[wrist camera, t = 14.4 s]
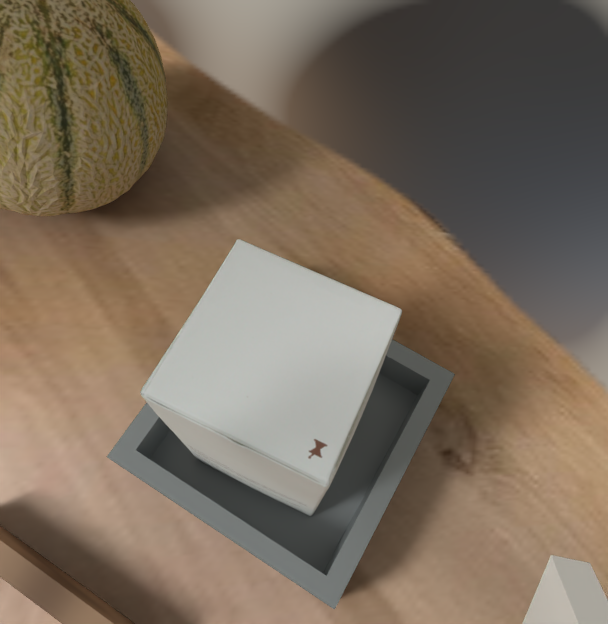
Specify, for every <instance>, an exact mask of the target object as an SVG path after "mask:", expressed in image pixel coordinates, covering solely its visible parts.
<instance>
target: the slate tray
mask: <svg viewBox="0 0 608 624" xmlns="http://www.w3.org/2000/svg"><path fill="white" fill-rule="evenodd" d="M454 375H455V374H454V373H452V372H450V371H448V370H446V369H445V368H443V367H441V366H439V365H437V364H436V363H434V362H432V361H430V360H429V359H427V358H425V357H423V356H421V355H420V354H418V353H416V352H414V351H412V350H411V349H409V348H407V347H405V346H403V345H402V344H400V343H398V342H396V341H394V340H393V339H392V341H391V343H390V346H389V349H388V351H387V354H386V356H385V359H384V362H383V364H382V367H381V369H380V372H379V375H378V377H377V380H376V382H375V385H374V388H373V390H372V392H371V395H370V397H369V400H368V402H367V404H366V407H365V409H364V412H363V414H362V416H361V419H360V421H359V423H358V426H357V428H356V430H355V433H354V435H353V437H352V439H351V442H350V444H349V446H348V448H347V450H346V452H345V455H344V457H343V459H342V461H341V463H340V465H339V468H338V470H337V472H336V474H335V476H334V478H333V480H332V483H331V485H330V487H329V488H328V490H327V491H326V493H325V495H324V497H323V498H322V500H321V502H320V503H319V505H318V507H317V508H316V510H315V512H314V514H313V515H312V516H308V515H306V514H304V513H302V512H300V511H298V510H296V509H294V508H292V507H290V506H288V505H285V504H283V503H281V502H279V501H277V500H275V499H273V498H271V497H269V496H267V495H265V494H263V493H261V492H259V491H257V490H255V489H253V488H251V487H249V486H247V485H245V484H243V483H241V482H239V481H237V480H235V479H234V478H232V477H230V476H228V475H226V474H224V473H222V472H220V471H218V470H216V469H214V468H212V467H211V466H209V465H207V464H205V463H203V462H201V461H200V460H198V459H196V457H195V456H194V455H193V454H192V453H191V451H190V450H189V449H188V448H187V447H186V446H185V445H184V443H183V442H182V441H181V440H180V439H179V438H178V437H177V436H176V435H175V434H174V432H173V431H172V430H171V429H170V428H169V427H168V426H167V425H166V424H165V423H164V422H163V420H162V419H161V418H160V417H159V416H158V415H157V414H156V413H155V412H154V410H153V409H152V408H151V407H150V406H149V404H148V403H146V404H145V406H144V407H143V408H142V410H141V411H140V412H139V414H138V415H137V416H136V418H135V419H134V420H133V422H132V423H131V425H130V426H129V427H128V429H127V430H126V431H125V433H124V434H123V435H122V437H121V438H120V439H119V441H118V442H117V444H116V445H115V446H114V448H113V449H112V450H111V452H110V453H109V454H108V456H107V457H108V458H109V459H111V460H112V461H114V462H115V463H117V464H118V465H120V466H121V467H123V468H124V469H126V470H127V471H129V472H130V473H132V474H133V475H135V476H136V477H138V478H139V479H141V480H142V481H143V482H145V483H146V484H148V485H149V486H151V487H152V488H154V489H155V490H157V491H158V492H160V493H161V494H163V495H164V496H166V497H167V498H169V499H170V500H172V501H173V502H175V503H176V504H178V505H179V506H181V507H182V508H184V509H185V510H187V511H188V512H190V513H191V514H193V515H194V516H196V517H197V518H199V519H200V520H202V521H203V522H205V523H206V524H208V525H209V526H211V527H212V528H214V529H215V530H217V531H218V532H220V533H221V534H223V535H224V536H226V537H227V538H229V539H230V540H232V541H233V542H235V543H236V544H238V545H239V546H241V547H242V548H244V549H245V550H247V551H248V552H250V553H251V554H253V555H254V556H256V557H257V558H258V559H260V560H261V561H263V562H264V563H266V564H267V565H269V566H270V567H272V568H273V569H275V570H276V571H278V572H279V573H281V574H282V575H284V576H285V577H287V578H288V579H290V580H291V581H293V582H294V583H296V584H297V585H299V586H300V587H302V588H303V589H305V590H306V591H308V592H309V593H311V594H312V595H314V596H315V597H317V598H318V599H320V600H321V601H323V602H324V603H326V604H327V605H329V606H330V607H332V608H333V609H335V608H336V606H337V604H338V602H339V600H340V598H341V596H342V594H343V592H344V590H345V588H346V586H347V584H348V582H349V580H350V578H351V576H352V574H353V573H354V571H355V569H356V567H357V565H358V563H359V561H360V559H361V557H362V555H363V553H364V551H365V549H366V547H367V545H368V543H369V541H370V539H371V537H372V535H373V533H374V531H375V529H376V528H377V526H378V524H379V522H380V520H381V518H382V516H383V514H384V512H385V510H386V508H387V506H388V504H389V502H390V500H391V498H392V496H393V494H394V492H395V490H396V488H397V486H398V484H399V483H400V481H401V479H402V477H403V475H404V473H405V471H406V469H407V467H408V465H409V463H410V461H411V459H412V457H413V455H414V453H415V451H416V449H417V447H418V445H419V443H420V441H421V439H422V438H423V436H424V434H425V432H426V430H427V428H428V426H429V424H430V422H431V420H432V418H433V416H434V414H435V412H436V410H437V408H438V406H439V404H440V402H441V400H442V398H443V396H444V395H445V393H446V391H447V389H448V387H449V385H450V383H451V381H452V379H453V377H454Z"/></svg>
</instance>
